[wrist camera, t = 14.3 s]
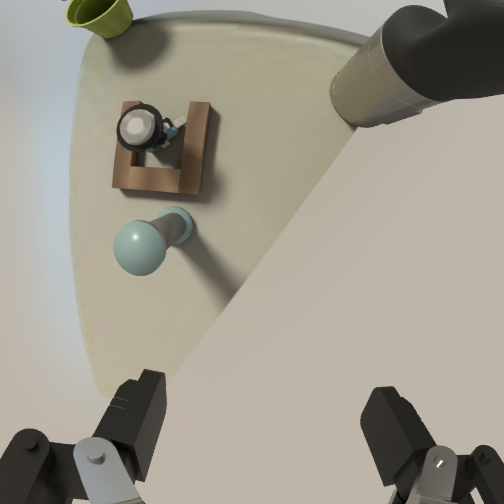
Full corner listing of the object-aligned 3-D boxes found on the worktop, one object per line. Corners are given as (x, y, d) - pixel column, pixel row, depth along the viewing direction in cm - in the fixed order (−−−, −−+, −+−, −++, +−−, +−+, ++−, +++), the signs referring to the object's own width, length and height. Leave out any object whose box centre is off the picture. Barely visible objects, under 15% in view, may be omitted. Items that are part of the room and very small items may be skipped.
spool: (194, 208, 38) (164, 225, 24) (191, 245, 39) (162, 279, 25) (159, 204, 38) (114, 219, 24) (156, 240, 39) (113, 271, 25)
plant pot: (82, 33, 30) (56, 13, 21) (124, -5, 28) (104, -31, 20) (108, 57, 32) (81, 36, 23) (154, 16, 30) (136, -13, 22)
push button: (177, 106, 34) (154, 84, 25) (197, 136, 35) (179, 121, 26) (137, 134, 35) (104, 123, 25) (156, 164, 36) (127, 161, 26)
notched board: (211, 106, 34) (209, 102, 32) (199, 193, 37) (197, 194, 35) (128, 104, 34) (123, 101, 32) (118, 187, 37) (112, 187, 35)
